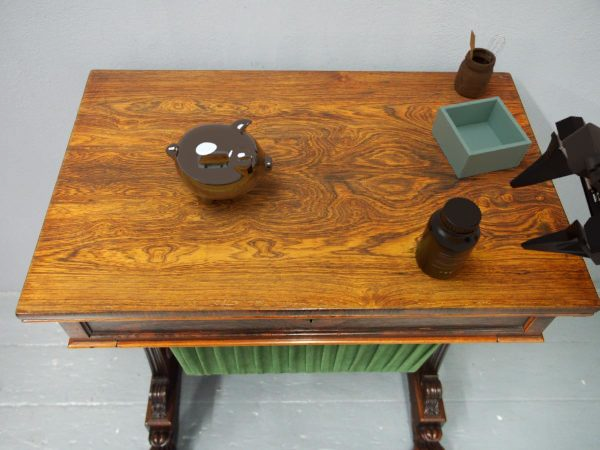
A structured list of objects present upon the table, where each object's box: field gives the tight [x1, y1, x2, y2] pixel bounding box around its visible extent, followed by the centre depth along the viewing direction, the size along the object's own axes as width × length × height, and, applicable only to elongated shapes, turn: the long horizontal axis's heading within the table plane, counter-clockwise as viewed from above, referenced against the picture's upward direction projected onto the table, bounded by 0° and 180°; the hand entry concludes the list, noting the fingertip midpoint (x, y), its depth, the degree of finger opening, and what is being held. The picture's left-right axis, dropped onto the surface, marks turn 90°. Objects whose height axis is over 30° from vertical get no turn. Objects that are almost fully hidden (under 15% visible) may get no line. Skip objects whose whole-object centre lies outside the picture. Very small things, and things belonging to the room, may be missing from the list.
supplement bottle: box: [414, 196, 483, 280], centre depth 66 cm, size 7×7×12 cm
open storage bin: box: [430, 96, 533, 180], centre depth 81 cm, size 11×11×6 cm
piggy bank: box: [164, 118, 274, 206], centre depth 72 cm, size 11×15×12 cm
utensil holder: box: [453, 29, 506, 99], centre depth 87 cm, size 6×6×12 cm
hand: (516, 214), depth 61 cm, fingers open, 9 cm apart
